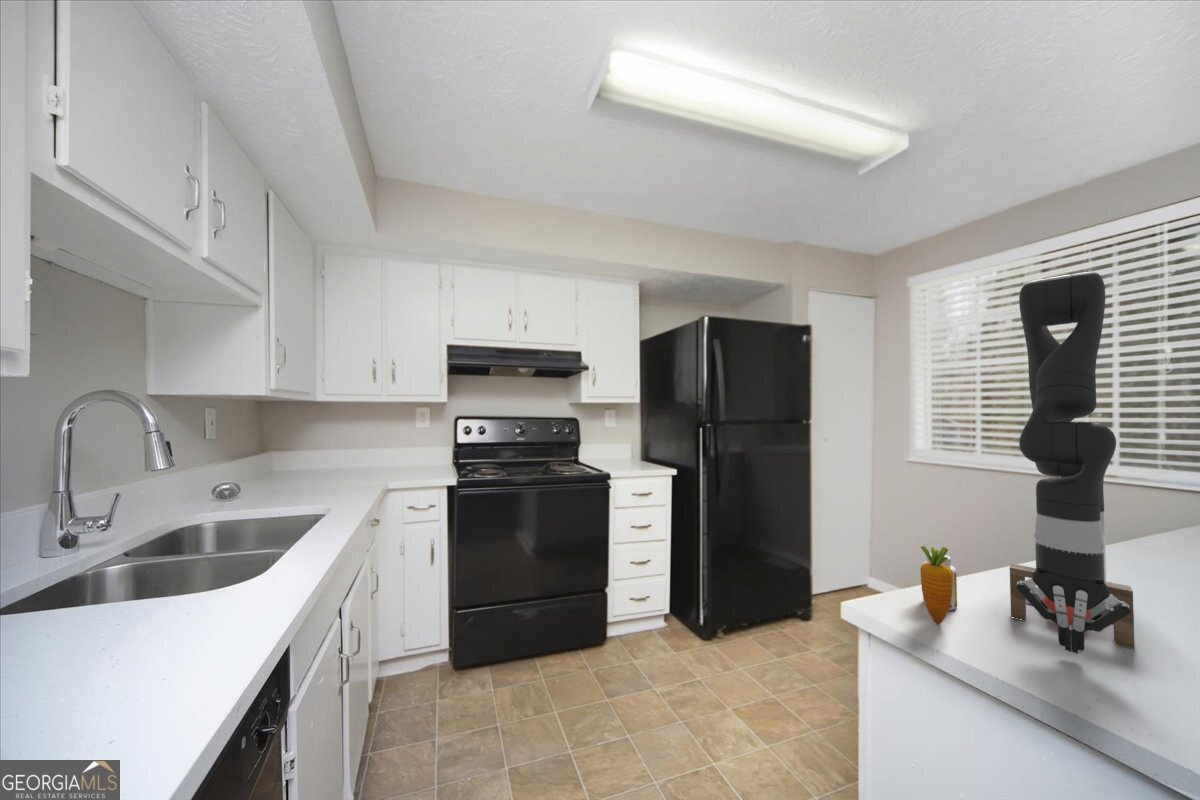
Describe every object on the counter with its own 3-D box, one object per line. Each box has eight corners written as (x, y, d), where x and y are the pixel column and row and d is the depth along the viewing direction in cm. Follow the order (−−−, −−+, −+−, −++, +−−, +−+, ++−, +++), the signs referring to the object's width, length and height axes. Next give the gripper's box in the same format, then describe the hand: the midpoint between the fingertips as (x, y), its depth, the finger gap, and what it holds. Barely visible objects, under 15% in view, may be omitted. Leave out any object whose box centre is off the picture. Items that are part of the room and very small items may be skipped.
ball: (1043, 605, 85) (1042, 579, 83) (1089, 616, 80) (1089, 589, 79) (1043, 625, 81) (1043, 598, 79) (1092, 637, 76) (1092, 609, 75)
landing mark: (1025, 585, 96) (1025, 585, 96) (1107, 603, 87) (1107, 602, 87) (1023, 603, 88) (1023, 602, 88) (1114, 624, 79) (1114, 623, 79)
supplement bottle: (940, 598, 91) (938, 550, 91) (964, 610, 85) (963, 559, 85) (916, 599, 90) (915, 551, 90) (939, 612, 85) (938, 561, 85)
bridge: (1011, 612, 84) (1010, 563, 84) (1132, 641, 73) (1130, 585, 74) (1010, 617, 82) (1009, 567, 82) (1134, 648, 71) (1132, 591, 71)
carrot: (915, 620, 82) (913, 543, 82) (932, 615, 83) (930, 539, 84) (943, 633, 77) (941, 551, 77) (961, 628, 79) (959, 547, 79)
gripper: (1129, 547, 67) (1132, 657, 67) (1012, 530, 76) (1015, 626, 76) (1136, 560, 62) (1140, 679, 61) (1010, 540, 71) (1013, 643, 71)
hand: (1071, 649), depth 69 cm, fingers closed
